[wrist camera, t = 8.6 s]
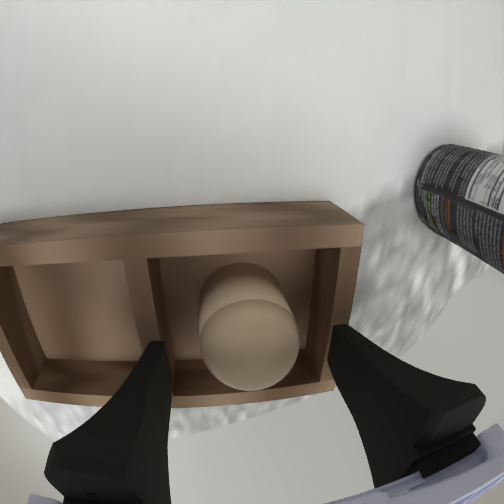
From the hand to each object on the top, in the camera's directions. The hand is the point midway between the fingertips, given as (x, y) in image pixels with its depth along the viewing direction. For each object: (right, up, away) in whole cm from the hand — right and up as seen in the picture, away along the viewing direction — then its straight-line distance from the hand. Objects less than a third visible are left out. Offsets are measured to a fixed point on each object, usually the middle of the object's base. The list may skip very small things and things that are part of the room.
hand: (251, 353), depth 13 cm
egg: (-1, +2, +4) cm, 4 cm away
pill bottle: (+13, +8, +5) cm, 16 cm away
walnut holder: (-5, +2, +4) cm, 7 cm away
